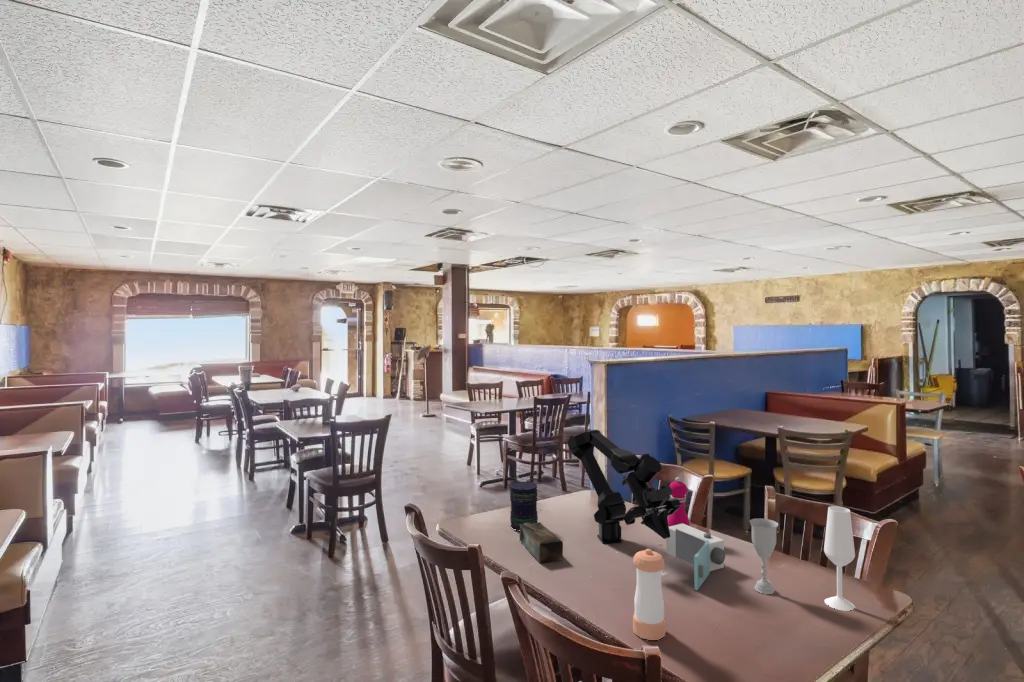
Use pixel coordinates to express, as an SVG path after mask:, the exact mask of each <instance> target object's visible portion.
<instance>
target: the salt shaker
mask: <svg viewBox="0 0 1024 682" xmlns="http://www.w3.org/2000/svg"><path fill="white" fill-rule="evenodd" d="M632 561H633V565H634V567H635V568H636V586H635V592H634V600H633V603H634V605H633V606H634V613H633V616H632V626H633V627H632V628H633V629H632V631H633V634H634V633H635V634H636V635H638V636H640V637H642V638H647V639H659V638H661V637H663V636H664V635H665V633H666V634H667V631H666V630H667V629H666V626H667V621H666V617H665V601H664V594H663V589H662V570H663V569H664V568H665V567H664V566H665V560H664V557H663V556H662V555H661V554H660V553H659V552H657V551H655V550H654V551H653V550H651V549H650V548H646V549H643V550H640V551H638V552H635V554H634V555H633V559H632ZM635 634H634V635H635ZM636 635H635V636H636ZM638 636H637V637H638ZM665 636H666V635H665Z"/></svg>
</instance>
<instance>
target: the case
mask: <svg viewBox="0 0 1024 682" xmlns="http://www.w3.org/2000/svg"><path fill="white" fill-rule="evenodd" d="M669 531H670V537H669V538H666V541H665V543H666V544H665V545H666V546H665V547H666V548H665V549H666V554H668V555H670V556H671V557H672V556H673V557H674V558H676V559H678V560H681V561H683V562H684V563H687V564H689V565H690V566H692V567H694V556H695V554H696V553H697V552H698V551H699V550H700V549H701V547H702V546H703V545H704V544H705V543H706V542H709V561H710V572H713V571H716V570H719V569H723V568H724V567H725V559H726V552H725V549H724V548H725V543H724V542H725V540H724V539H722V538H720V537H718V536H715V535H712V534H711V533H709V532H708V533H707V532H705V531H702V530H700V529H697V528H695V527H694V526H693V527H692V526H688V525H685V524H683V523H682V524H678V525H674V526H670V527H669Z"/></svg>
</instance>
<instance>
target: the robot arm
mask: <svg viewBox="0 0 1024 682" xmlns="http://www.w3.org/2000/svg"><path fill="white" fill-rule="evenodd" d="M567 446H568V448H569V451H570V452H571V453H572V455H573V456H575V457H576V459H578V460H579V461H580V462H581V463H582V466H583V468H584V469H585V473H586V474H587V476H588V479H589V480H590V483H591V484H592V486H593V489H594V491H595V493H596V494H597V511H595V513H594V514H593V518H594V521H595V523H598V535H597V538H598V539H599V540H600V542H601V543H602V544H613V543H615V544H616V543H622V526H621V525H620V523H621V522H624V523H625V524H626V526H629V525H633V524H635V523H636V519H637V518H641V520H642V521H640V524H641V525H644V526H645V527H647V528H649V529H650V530H652V531H653V532H655V533H656V534H657V535H658V536H660V538H662V539H663V540H665V539H666V538H669V537H670V531H669V526H668V517H669V515H672V514H673V513H675V512H676V511H677V510H678V509H679V508H680V507H681V506H682V505H681V503H680V501H679V500H678V499H676V498H674V499H671V495H672V494H673V492H672V489H671V488H670V484H664V485H661V486H660V488H658V489H656V488H655V487H651V486H650V485H649V483H650V482H651V481H653V479H654V478H655V477H657V475H658V474H659V473H660V472H661V471H662V464H661V462H660V461H659V460H657V459H656V458H655V457H653V456H651V455H650V453H644V454H642V455H641V456H640V458H639V457H638V456H637V455H636V454H635V453H634V452H631V451H630V450H625V449H622V448H620V447H619V446H617V445H616V444H615V443H614V442H612V441H611V440H610V439H609V438H608V437H606V436H605V435H603V434H602V432H601V431H600V430H599V429H591V430H590V429H589V430H586V431H584V432H582V433H579V434H573V435H570V436H569V438H568V439H567ZM594 449H596V450H597V451H599V452H600V453H601V454H602V455H603V456H605V457H606V458H607V459H608V460H609V462H610V466H611V467H612V468H613V469H614V471H615V472H616V473H618V474H619V475H621V474H622V475H623V474H627V473H628V475H625V476H623V479H622V483H621V484H622V486H628V488H629V490H630V491H631V495H632V496H633V498H632V501H633V502H634V503H637V505H638V506H634V507H633V506H632V507H630V508H629V509H628V510H627V506H626V504H625V503H626V502H625V500H624V499H623V497H622V494H621V492H620V491H616V492H615V491H613V490H612V489H611V487H610V484H609V483H608V480H607V479H606V476H605V474H604V472H603V471H602V469H601V467H600V465H599V463H598V461H597V458H596V457H595V455H594ZM666 499H667V500H666ZM664 500H665V501H664ZM662 503H663V504H662Z"/></svg>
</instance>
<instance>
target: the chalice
mask: <svg viewBox="0 0 1024 682" xmlns="http://www.w3.org/2000/svg"><path fill="white" fill-rule="evenodd" d="M749 524H750V526H751V541H752V546H753V548H754V550H755V551H756V553H757V556H758V557H760V558H761V563H760V566H761V570H760V573H761V579H758V580H757V581H756V583H755V586H754V587H753V589H754V588H755V590H756V591H758V592H760V593H759V594H761V593H765V594H764V595H766V594H771V593H774V591H775V590H774V587H773V584H772V583H771V581H770V580H768V579H767V574H768V573H769V572H768V570H767V567H768V564H767V559H769V558H770V557H771V555H772V553H773V552H774V551H775V547H776V545H777V528H778V527H779V523H778V521H777V522H776V521H775V520H772V519H769V518H768V519H767V518H761V517H760V518H756V517H755V518H752V519H749ZM755 590H754V591H755ZM756 591H755V592H756ZM758 592H757V593H758ZM774 594H775V593H774ZM771 595H772V594H771Z"/></svg>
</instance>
